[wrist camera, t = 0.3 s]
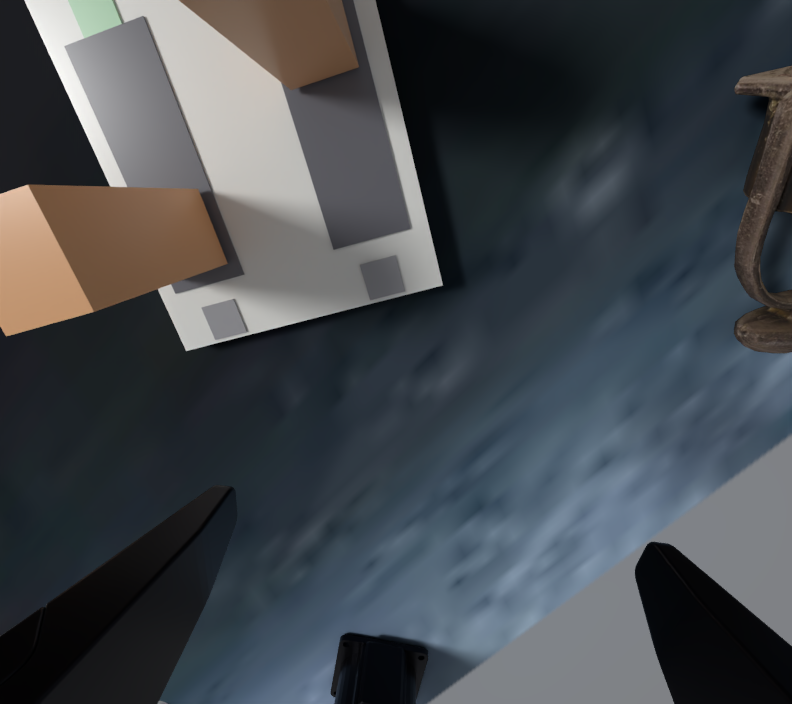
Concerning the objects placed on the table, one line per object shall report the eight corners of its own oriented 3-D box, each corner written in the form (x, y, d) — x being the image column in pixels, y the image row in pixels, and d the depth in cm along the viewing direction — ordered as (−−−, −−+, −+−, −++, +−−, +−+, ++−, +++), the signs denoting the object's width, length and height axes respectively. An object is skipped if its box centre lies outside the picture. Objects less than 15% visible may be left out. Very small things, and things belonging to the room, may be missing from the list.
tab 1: (227, 263, 21) (93, 311, 12) (172, 279, 21) (6, 336, 13) (198, 188, 19) (27, 184, 11) (140, 206, 20) (-66, 216, 11)
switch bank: (441, 280, 22) (442, 285, 21) (197, 343, 24) (185, 351, 23) (349, -112, 17) (343, -135, 16) (47, 10, 19) (21, -3, 18)
